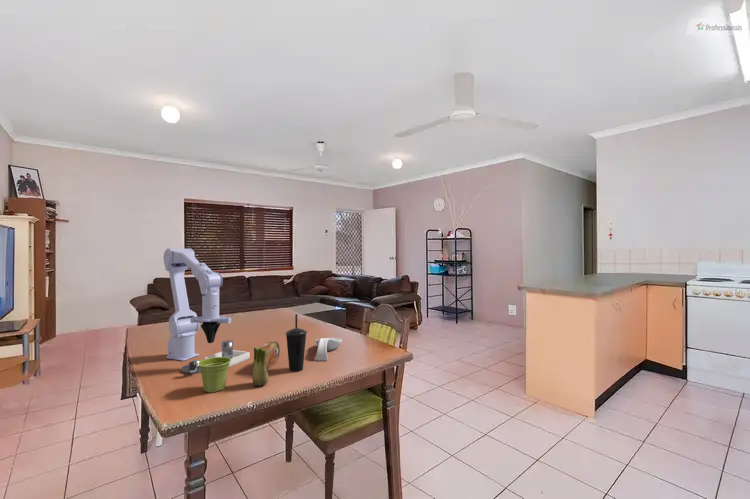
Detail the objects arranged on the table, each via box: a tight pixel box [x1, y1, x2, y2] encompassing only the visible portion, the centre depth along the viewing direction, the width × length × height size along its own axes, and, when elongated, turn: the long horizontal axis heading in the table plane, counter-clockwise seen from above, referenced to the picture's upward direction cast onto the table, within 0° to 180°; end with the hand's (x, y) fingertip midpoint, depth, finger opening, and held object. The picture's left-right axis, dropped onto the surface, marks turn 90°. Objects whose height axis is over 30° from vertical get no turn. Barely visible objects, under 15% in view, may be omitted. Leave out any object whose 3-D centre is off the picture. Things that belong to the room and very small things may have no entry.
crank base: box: [181, 364, 201, 375], centre depth 127 cm, size 9×9×1 cm
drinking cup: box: [284, 314, 308, 373], centre depth 127 cm, size 8×8×20 cm
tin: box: [258, 341, 281, 370], centre depth 131 cm, size 15×3×8 cm, turn 168°
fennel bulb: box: [252, 346, 269, 387], centre depth 113 cm, size 6×5×12 cm
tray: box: [202, 349, 251, 369], centre depth 136 cm, size 11×12×2 cm
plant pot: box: [198, 357, 231, 393], centre depth 110 cm, size 9×9×9 cm
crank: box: [188, 359, 201, 373], centre depth 124 cm, size 10×3×4 cm, turn 19°
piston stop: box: [221, 339, 234, 359], centre depth 136 cm, size 4×4×7 cm
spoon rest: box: [314, 337, 343, 362], centre depth 149 cm, size 24×12×7 cm, turn 0°
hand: (210, 342), depth 130 cm, fingers closed
